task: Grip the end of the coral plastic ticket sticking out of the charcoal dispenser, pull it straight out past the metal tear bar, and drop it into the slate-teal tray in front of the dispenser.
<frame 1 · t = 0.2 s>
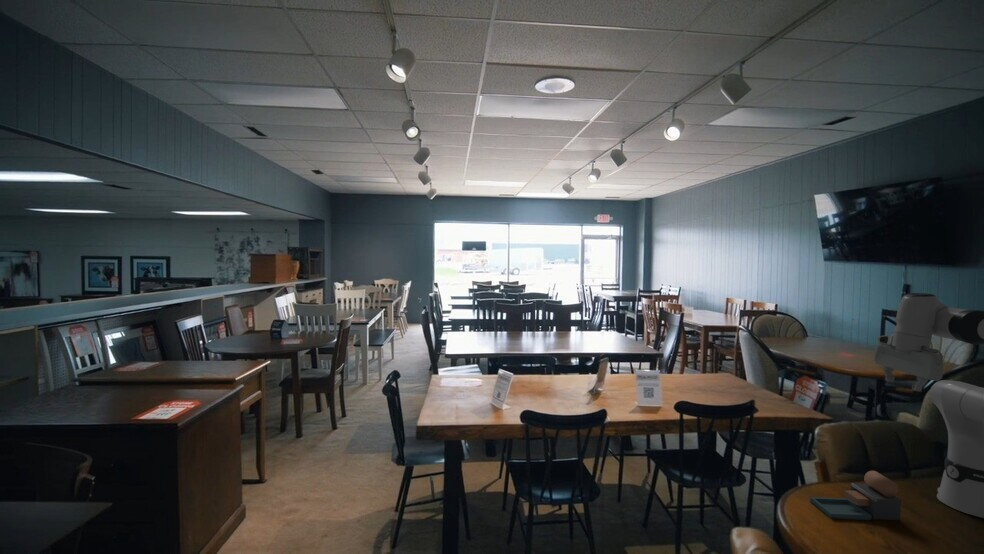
hand: (902, 386, 140), 39 cm above the table, tool pointing down, fingers open, 8 cm apart
dispenser: (874, 510, 138), on the table
ticket: (864, 501, 138), point 3 cm above the table, touching dispenser
tray: (839, 510, 138), on the table
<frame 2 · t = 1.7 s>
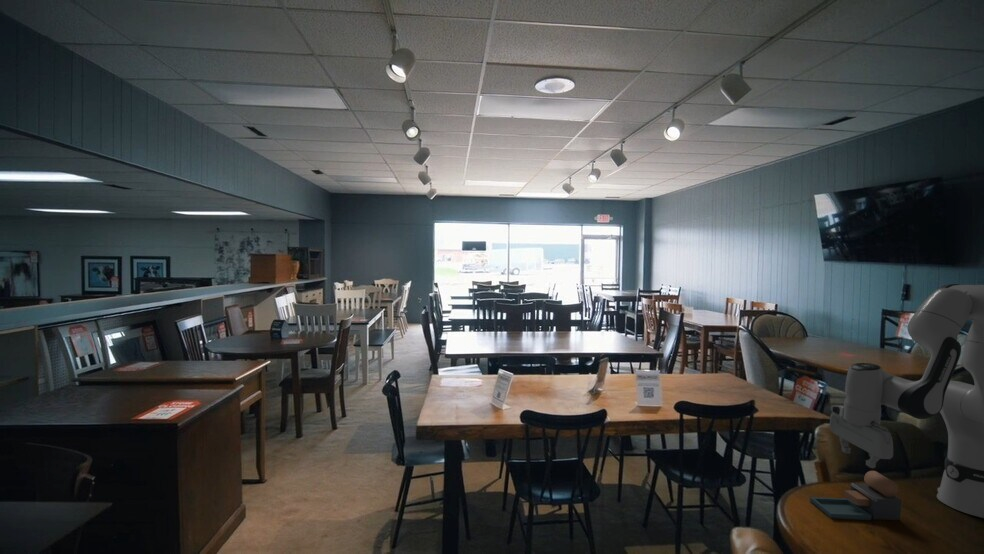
hand: (857, 459, 137), 16 cm above the table, tool pointing down, fingers open, 8 cm apart
nothing on the table moved.
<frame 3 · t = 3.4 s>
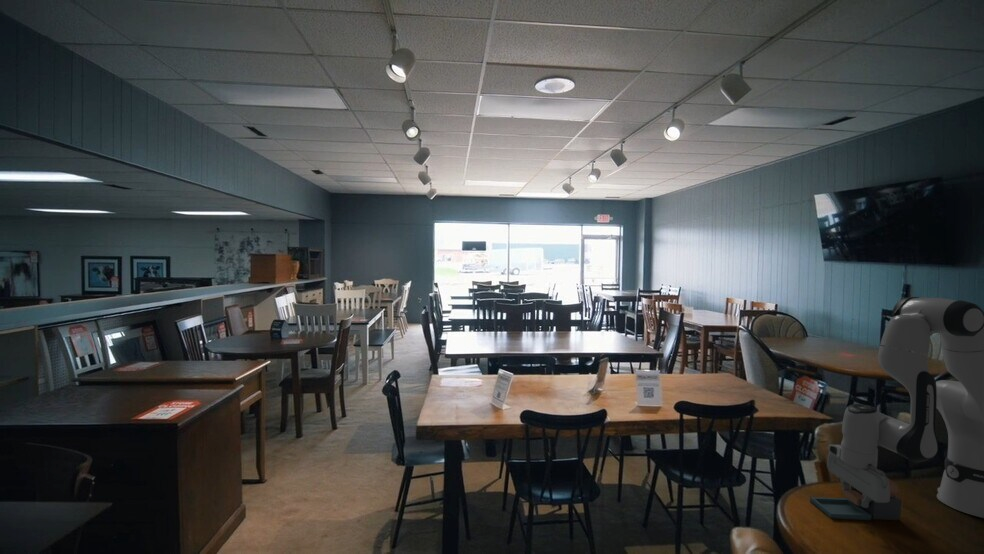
hand: (855, 500, 138), 3 cm above the table, tool pointing down, fingers closed on ticket, 5 cm apart
ticket: (864, 501, 138), point 3 cm above the table, touching dispenser, gripper
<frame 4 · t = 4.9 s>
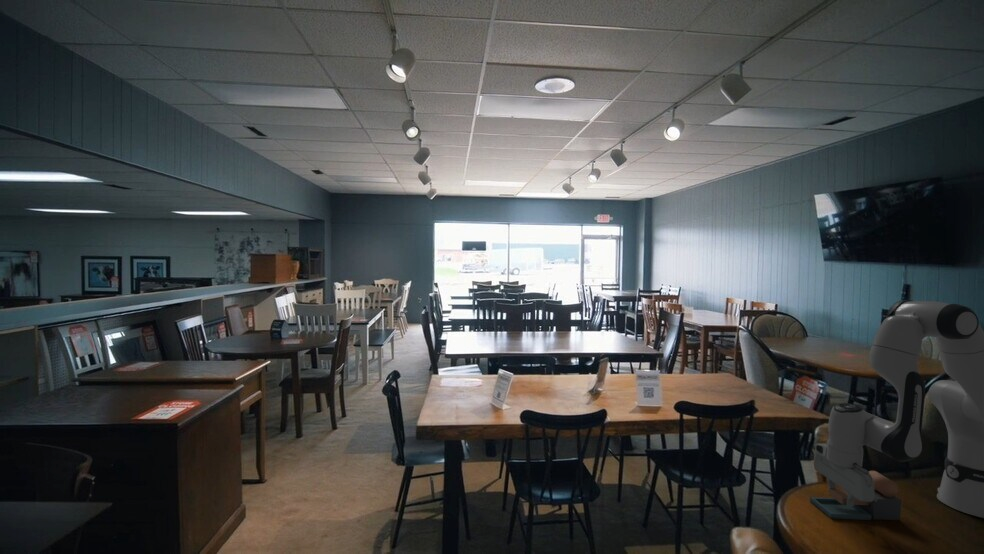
hand: (840, 499, 138), 3 cm above the table, tool pointing down, fingers closed on ticket, 5 cm apart
ticket: (850, 500, 138), point 3 cm above the table, touching gripper
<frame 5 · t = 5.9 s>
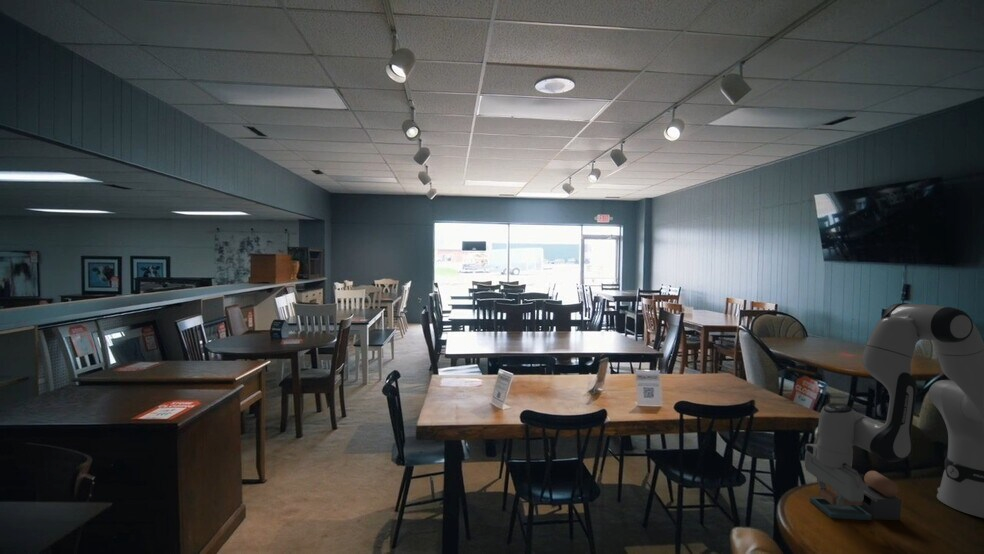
hand: (830, 499, 138), 3 cm above the table, tool pointing down, fingers closed on ticket, 5 cm apart
ticket: (840, 500, 138), point 3 cm above the table, touching gripper
when the fingers open (3 cm above the table, at t = 6.8 s): ticket drops 3 cm, resting on tray.
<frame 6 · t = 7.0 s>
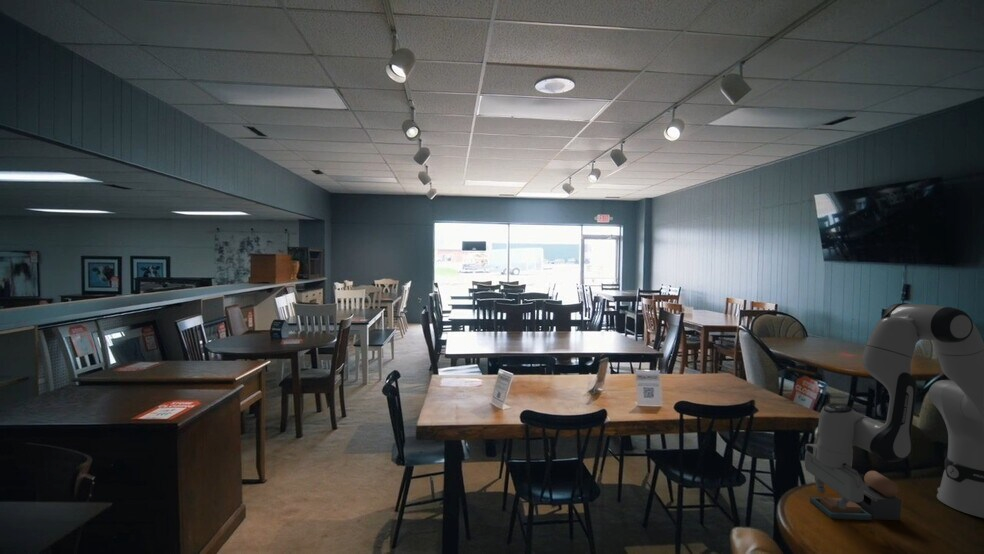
hand: (830, 499, 138), 3 cm above the table, tool pointing down, fingers open, 7 cm apart
ticket: (839, 508, 138), resting on tray
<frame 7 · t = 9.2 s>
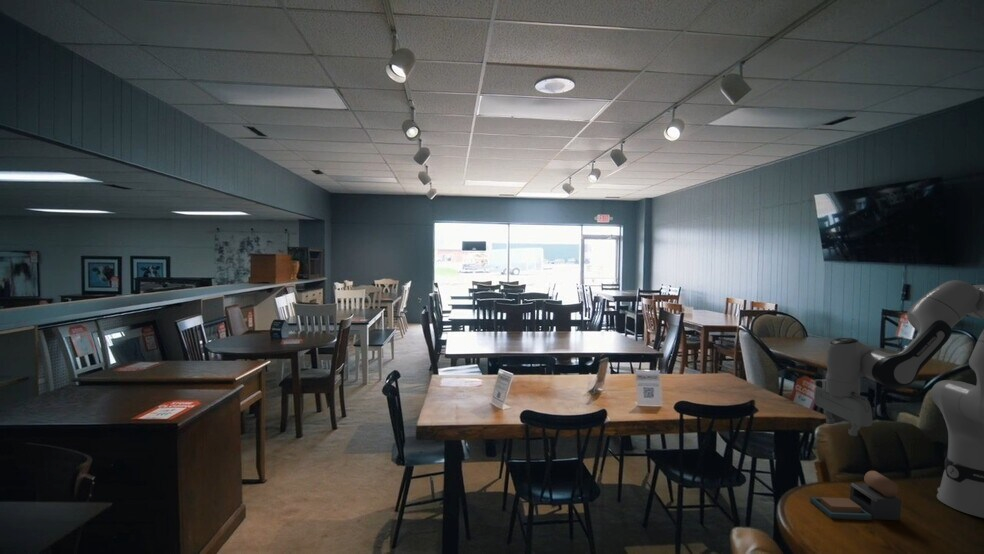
hand: (841, 429, 145), 22 cm above the table, tool pointing down, fingers open, 8 cm apart
nothing on the table moved.
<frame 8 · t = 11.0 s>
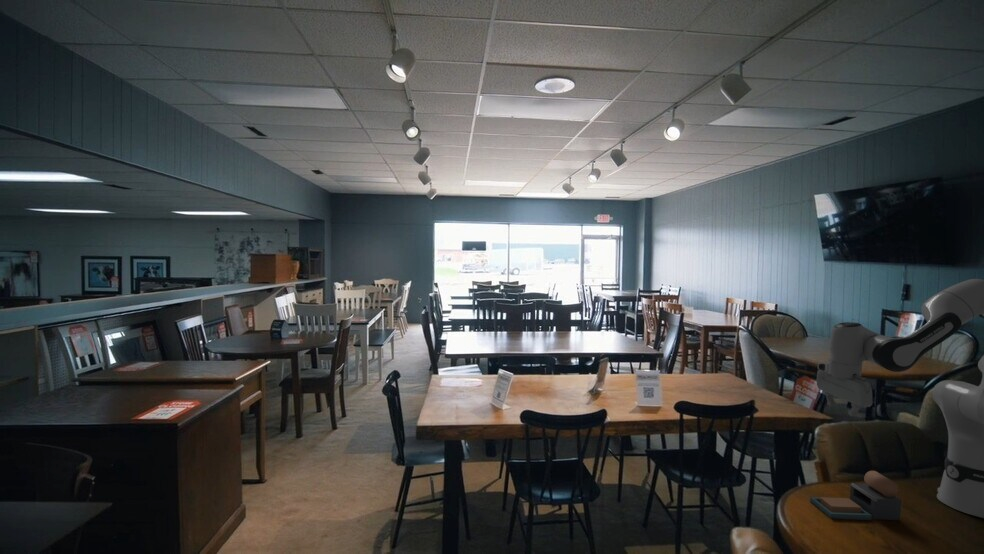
hand: (841, 410, 149), 27 cm above the table, tool pointing down, fingers open, 8 cm apart
nothing on the table moved.
at the end: ticket 0.7 cm off-centre on the tray, point 0.4 cm above the tray's base; ticket touching tray; the gripper is holding nothing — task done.
